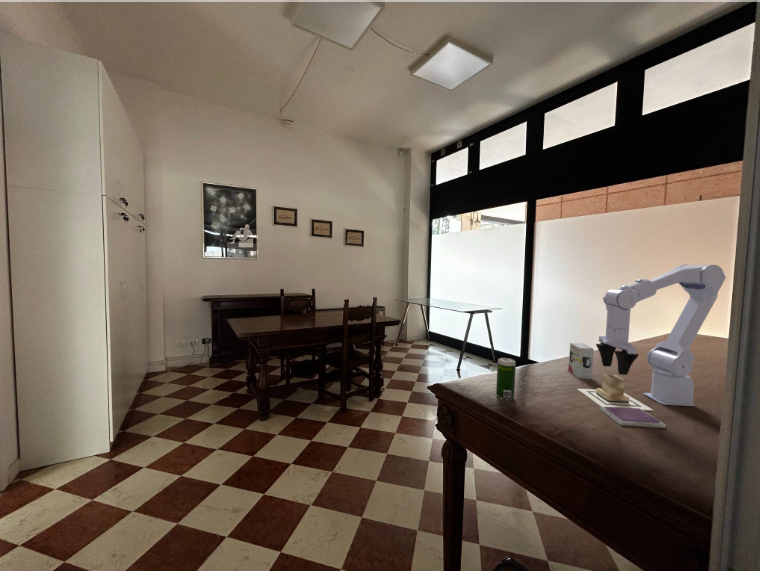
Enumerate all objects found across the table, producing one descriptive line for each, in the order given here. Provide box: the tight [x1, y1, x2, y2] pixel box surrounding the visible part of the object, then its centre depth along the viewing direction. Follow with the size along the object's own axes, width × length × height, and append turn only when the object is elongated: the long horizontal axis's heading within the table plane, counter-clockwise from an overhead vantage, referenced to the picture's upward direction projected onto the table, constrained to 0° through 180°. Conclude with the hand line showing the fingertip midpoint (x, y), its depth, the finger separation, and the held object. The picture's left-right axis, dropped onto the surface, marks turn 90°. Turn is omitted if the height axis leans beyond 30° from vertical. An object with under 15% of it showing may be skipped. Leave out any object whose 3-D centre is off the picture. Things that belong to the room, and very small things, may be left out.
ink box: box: [567, 342, 595, 380], centre depth 120 cm, size 9×5×12 cm, turn 172°
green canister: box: [495, 357, 517, 401], centre depth 99 cm, size 5×5×12 cm
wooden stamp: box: [596, 374, 630, 403], centre depth 98 cm, size 6×6×7 cm
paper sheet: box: [576, 388, 654, 412], centre depth 99 cm, size 14×14×1 cm
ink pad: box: [599, 406, 666, 429], centre depth 86 cm, size 11×9×1 cm
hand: (614, 370), depth 98 cm, fingers open, 7 cm apart
